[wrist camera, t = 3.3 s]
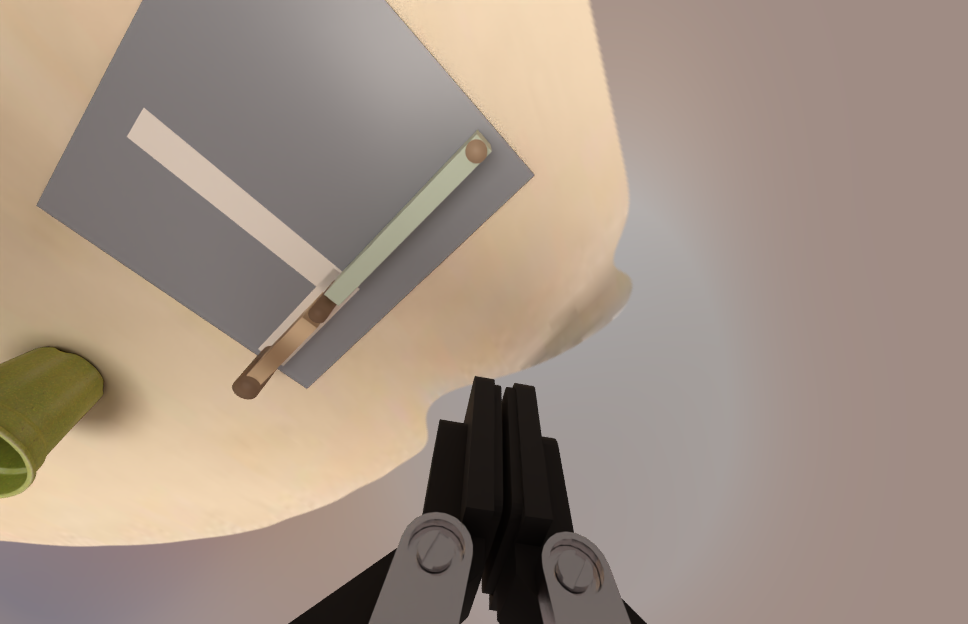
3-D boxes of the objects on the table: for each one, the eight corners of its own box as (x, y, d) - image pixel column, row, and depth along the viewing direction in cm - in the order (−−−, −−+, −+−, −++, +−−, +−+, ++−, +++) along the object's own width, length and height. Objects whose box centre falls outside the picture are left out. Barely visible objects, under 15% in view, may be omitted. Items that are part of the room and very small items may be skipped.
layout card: (308, 386, 35) (306, 388, 35) (40, 204, 28) (36, 205, 27) (533, 174, 27) (534, 175, 27) (237, -173, 19) (233, -177, 19)
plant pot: (151, 398, 36) (62, 479, 28) (73, 428, 38) (-31, 512, 30) (63, 313, 32) (-70, 382, 24) (-20, 351, 33) (-169, 426, 26)
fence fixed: (278, 365, 34) (249, 403, 30) (259, 352, 34) (227, 389, 29) (354, 288, 31) (334, 318, 27) (335, 272, 30) (311, 301, 26)
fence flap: (353, 283, 30) (336, 308, 26) (340, 273, 29) (321, 297, 26) (490, 144, 25) (491, 152, 22) (477, 129, 25) (476, 134, 21)
